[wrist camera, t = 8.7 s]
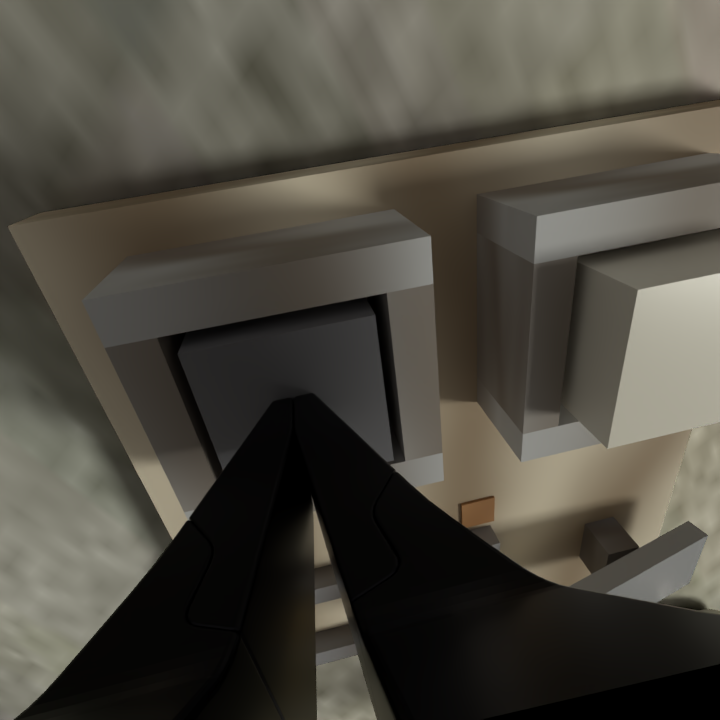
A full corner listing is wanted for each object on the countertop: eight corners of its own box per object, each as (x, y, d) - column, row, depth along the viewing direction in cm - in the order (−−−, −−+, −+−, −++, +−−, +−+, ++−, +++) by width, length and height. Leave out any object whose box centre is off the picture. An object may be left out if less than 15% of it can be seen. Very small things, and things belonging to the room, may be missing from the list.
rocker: (560, 632, 16) (575, 651, 16) (568, 586, 15) (584, 605, 14) (671, 568, 18) (689, 583, 17) (688, 520, 16) (707, 535, 16)
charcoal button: (239, 439, 11) (233, 497, 10) (194, 311, 10) (177, 354, 8) (375, 409, 12) (393, 460, 10) (356, 280, 10) (375, 314, 8)
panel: (244, 636, 19) (238, 756, 16) (40, 212, 10) (-86, 263, 7) (626, 537, 21) (701, 626, 17) (738, 96, 12) (946, 86, 8)
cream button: (554, 397, 11) (607, 448, 9) (569, 257, 9) (638, 289, 8) (685, 368, 11) (759, 412, 10) (723, 228, 10) (823, 251, 8)
